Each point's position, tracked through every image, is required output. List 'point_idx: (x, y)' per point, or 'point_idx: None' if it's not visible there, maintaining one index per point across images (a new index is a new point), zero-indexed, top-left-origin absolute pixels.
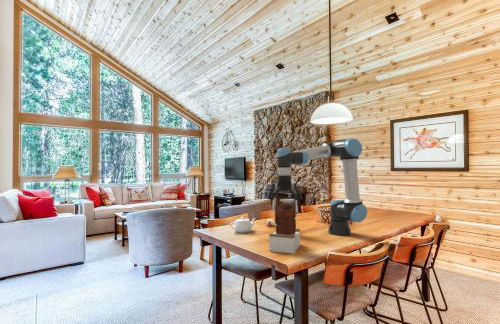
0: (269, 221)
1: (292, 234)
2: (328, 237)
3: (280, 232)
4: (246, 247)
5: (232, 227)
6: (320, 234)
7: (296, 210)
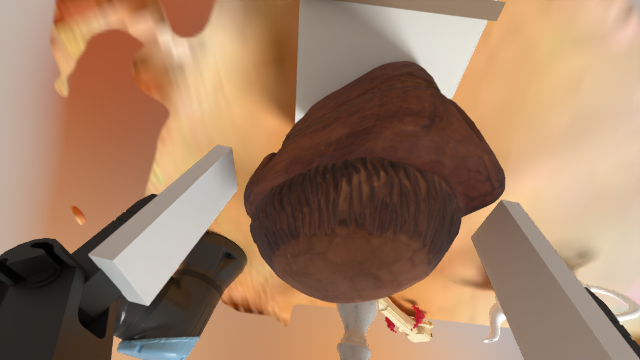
0: (418, 330)
1: (322, 97)
2: (235, 218)
3: (400, 62)
4: (605, 52)
5: (615, 291)
6: None
7: (212, 156)
